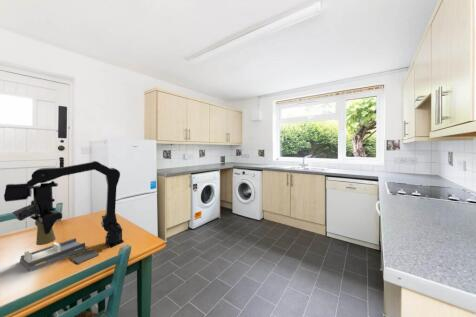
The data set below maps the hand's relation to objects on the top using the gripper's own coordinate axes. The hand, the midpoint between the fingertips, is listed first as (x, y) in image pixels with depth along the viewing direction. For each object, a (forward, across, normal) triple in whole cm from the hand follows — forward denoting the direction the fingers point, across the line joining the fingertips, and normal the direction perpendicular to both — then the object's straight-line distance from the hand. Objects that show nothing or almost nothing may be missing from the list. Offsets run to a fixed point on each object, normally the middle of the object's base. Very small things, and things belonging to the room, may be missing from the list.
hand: (44, 232), depth 82 cm
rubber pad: (+13, +11, +10) cm, 19 cm away
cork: (+4, 0, 0) cm, 4 cm away
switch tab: (+11, -1, 0) cm, 11 cm away
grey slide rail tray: (+13, -2, +4) cm, 13 cm away
